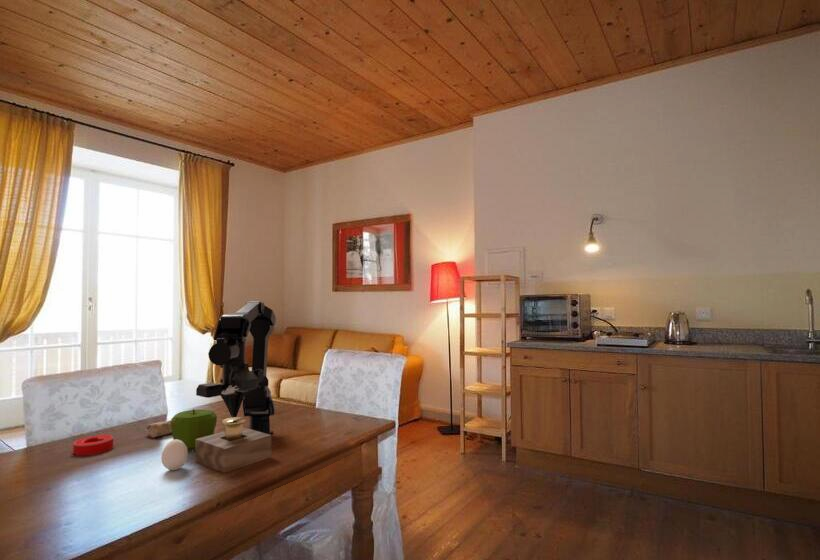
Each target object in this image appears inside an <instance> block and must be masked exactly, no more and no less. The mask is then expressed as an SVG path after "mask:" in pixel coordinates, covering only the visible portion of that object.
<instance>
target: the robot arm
mask: <svg viewBox="0 0 820 560" xmlns="http://www.w3.org/2000/svg"><path fill="white" fill-rule="evenodd" d="M276 320H277V317H276V315H275V312H274V311H273V309H271V308H269V307H268V306H267V305H265V302H263V301H262V300H261V301H260V300H257V301H256V300H254V301H252V300H251V301H246V302H245V305H243V306H242V307H241V308H240V309H239V310H237V311H236V312H230V313H226V314H223V315H221V316H220V318H219V320H218V322H217V325H216V329H215V331H214V337H213V341H216V342H215V344H213V345H212V346H211V347H210V348H209V351H208V352H207V353H208V358H209V361H210V362H211V363H212V364H213V365H216V366H220V368H221V369H222V378H220V379H219V381H220V382H219V383H215V382H206V383H202V384H198V386H197V388H196V390H195V391H196V392H195V395H196V396H199V397H203V398H215V397H219V396H220V398H221V399H222V400H223V402H224V404H225V406H226V408H227V410H228V412H229V415H230V417H231V418H234V417H238V413H239V411H240V408H241V407H242V409H243V410H242V411H243V418H245V417H249V428H248V429H251V430H255V431H259V432H262V433H266V434H270V435H271V434H274V430H271V426H270V425H271V423H270V422H271V419H270V417H272V416H274V415H275V413H276V412H275V411H276V408H275V407H276V406H275V404H274V400H273V398H272V396H271V395H272V394H271V390H270V388H269V378H268V377H267V370H268V369H267V368H268V367H267V366H268V352H269V349H268V346H269V338H270V337H271V335H272V334H273V333H274V331H275V330H274V327H275V325H276V322H277V321H276ZM249 333H250V334H251V336H252V339H253V341H252V356H251V357H252V358H251V359H252V361H251V370H250V367H249V363H247V362H246V342H247V339H246V338H248V336H249ZM241 405H242V406H241Z"/></svg>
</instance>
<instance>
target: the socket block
mask: <svg viewBox="0 0 820 560" xmlns="http://www.w3.org/2000/svg"><path fill="white" fill-rule="evenodd" d="M194 452H195V453H194V454H195V459H194V460H195V463H198V464H200V465H203V466H206V467H208V468H210V469H213V470H216V471H218V472H221V473H223V474H226V473H230V472H231V471H235V470H237V469H240V468H243V467H246V466H250V465H252V464H255V463H259V462H260V461H264V460H266V459H270V458H271V457H272V435H271V434H266V433H262V432H259V431H255V430H251V429H249V428H247V427H244V426H242V438H240V439H237V440H234V441H228V440H225V430H224V431H221V432H218V433H214V434H213V435H209V436H206V437H202V438H198V439H195V451H194Z"/></svg>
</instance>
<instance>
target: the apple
mask: <svg viewBox="0 0 820 560" xmlns="http://www.w3.org/2000/svg"><path fill="white" fill-rule="evenodd" d="M170 420H171V430H172V433H171V434H172V438H173V439H172V440H175V439H178V440H181V441H182V442H183V443H184V444H185V445H186V447H187V451H188V452H195V439H198V438H202V437H206V436H209V435H213V434H215V430H216V426H217V420H218V416H217V413H215V411H213V410H210V409H201V408H199V409H197V408H196V409H194V408H193V409H191V410H189V409H188V410H184V411H180V412H178V413H176V414H174V416H173V417H172V418H171V419H170Z"/></svg>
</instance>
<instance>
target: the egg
mask: <svg viewBox="0 0 820 560" xmlns="http://www.w3.org/2000/svg"><path fill="white" fill-rule="evenodd" d="M163 447H164V448H163V449H162V452H161V458H160V459H161V464H162V465H163V466H164V468H165V469H167V470H169V471H176V470H179V469H180V468H182V467H183V466H184V465H185V464H186V462H187V460H188V454H189V453H188V452H189V451H187V447H186V445H185V444H184V443H183V442H182V441H181V440H178V439H175V440H173V439H172V440H170V441H168V442H167V443H166V445H165V446H163Z"/></svg>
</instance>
